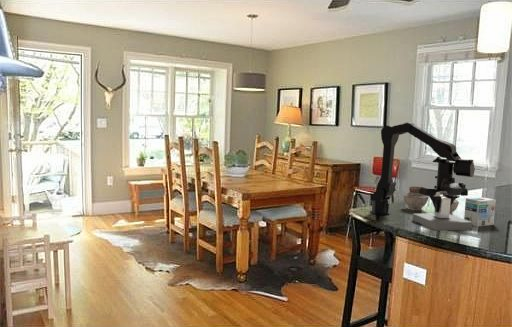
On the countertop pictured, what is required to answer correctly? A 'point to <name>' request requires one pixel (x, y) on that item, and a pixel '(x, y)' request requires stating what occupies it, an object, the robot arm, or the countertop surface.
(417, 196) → the pottery
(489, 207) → the light bulb box
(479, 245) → the countertop surface
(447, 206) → the beige rectangular block
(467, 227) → the square nut plate
